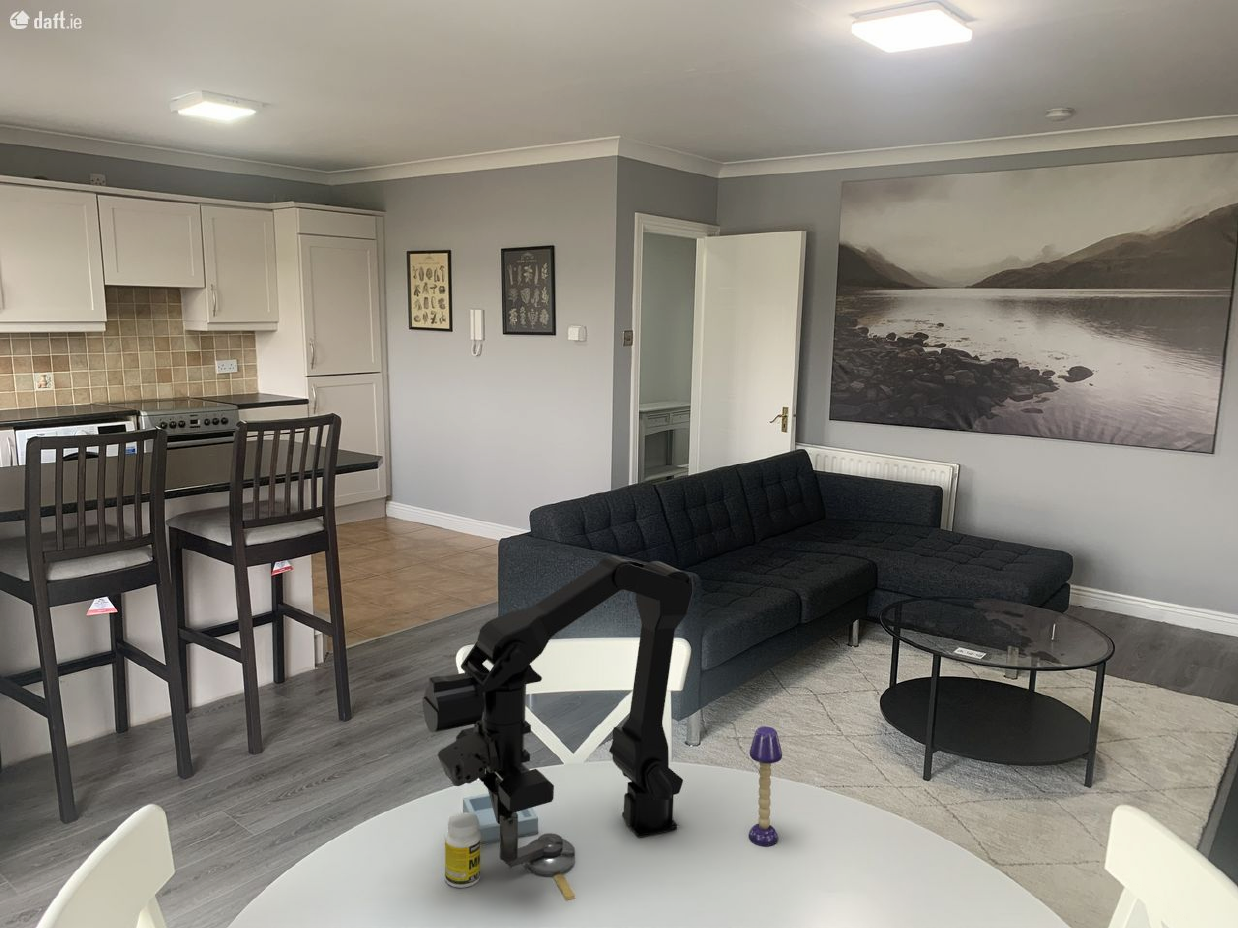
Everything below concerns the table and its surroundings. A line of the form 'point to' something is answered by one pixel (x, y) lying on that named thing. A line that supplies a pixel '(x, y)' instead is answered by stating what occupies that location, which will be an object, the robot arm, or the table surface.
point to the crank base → (555, 867)
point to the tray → (488, 822)
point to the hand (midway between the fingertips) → (501, 822)
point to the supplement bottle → (462, 850)
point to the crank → (517, 856)
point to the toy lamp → (765, 782)
